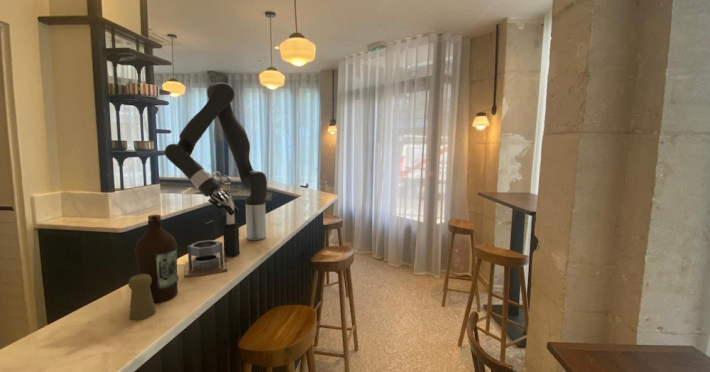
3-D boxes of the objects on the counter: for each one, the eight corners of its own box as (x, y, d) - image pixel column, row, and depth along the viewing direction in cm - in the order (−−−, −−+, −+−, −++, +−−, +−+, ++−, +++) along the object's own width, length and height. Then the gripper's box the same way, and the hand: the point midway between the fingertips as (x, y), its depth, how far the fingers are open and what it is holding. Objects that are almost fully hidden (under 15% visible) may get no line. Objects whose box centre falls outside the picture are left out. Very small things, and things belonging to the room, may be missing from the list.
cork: (135, 322, 83) (132, 282, 82) (124, 316, 86) (121, 276, 85) (160, 312, 88) (157, 274, 87) (149, 306, 91) (146, 269, 90)
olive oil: (130, 301, 94) (123, 218, 91) (161, 286, 104) (156, 211, 101) (157, 307, 91) (151, 221, 88) (187, 291, 101) (183, 213, 98)
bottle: (240, 252, 137) (238, 195, 134) (235, 257, 132) (232, 196, 129) (229, 252, 138) (226, 194, 135) (223, 256, 133) (220, 196, 130)
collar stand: (186, 264, 124) (184, 241, 123) (225, 258, 130) (224, 237, 129) (184, 277, 112) (183, 252, 110) (227, 271, 118) (226, 247, 116)
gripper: (201, 178, 125) (233, 210, 125) (219, 175, 138) (248, 203, 139) (189, 191, 126) (220, 223, 126) (208, 186, 140) (236, 215, 140)
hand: (235, 212), depth 133 cm, fingers closed on bottle, 3 cm apart
